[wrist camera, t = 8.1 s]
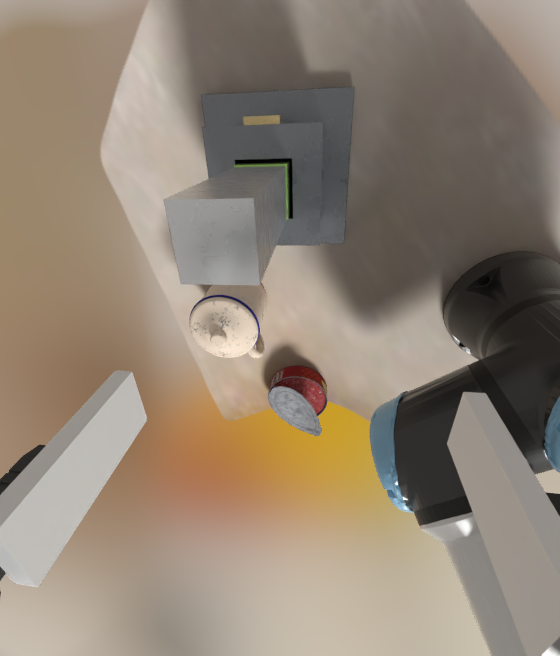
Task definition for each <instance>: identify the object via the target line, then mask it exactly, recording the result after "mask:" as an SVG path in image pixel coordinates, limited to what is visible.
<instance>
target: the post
mask: <svg viewBox="0 0 560 656" xmlns="http://www.w3.org/2000/svg"><path fill="white" fill-rule="evenodd" d="M164 205H165V209H166V214H167V219H168V224H169V229H170V234H171V238H172V243H173V248H174V253H175V258H176V263H177V268H178V272H179V277H180V282H181V284H203V285H260V284H261V281H262V279H263V276H264V274H265V271H266V269H267V266H268V264H269V261H270V259H271V257H272V254H273V252H274V249H275V247H276V244H277V242H278V239H279V237H280V234H281V232H282V229H283V227H284V225H285V222H286V220H287V219H289V212H290V210H291V207H292V159H288V160H254V161H247V162H245V163H242V164H236V165H234V168H231V169H229V170H227V171H225V172H223V173H221V174H218V175H216V176H214V177H212V178H210V179H207V180H205V181H203V182H201V183H199V184H197V185H194V186H192V187H190V188H188V189H186V190H184V191H181V192H179V193H177V194H175V195H173V196H170V197H168V198H166V199H164Z"/></svg>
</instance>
